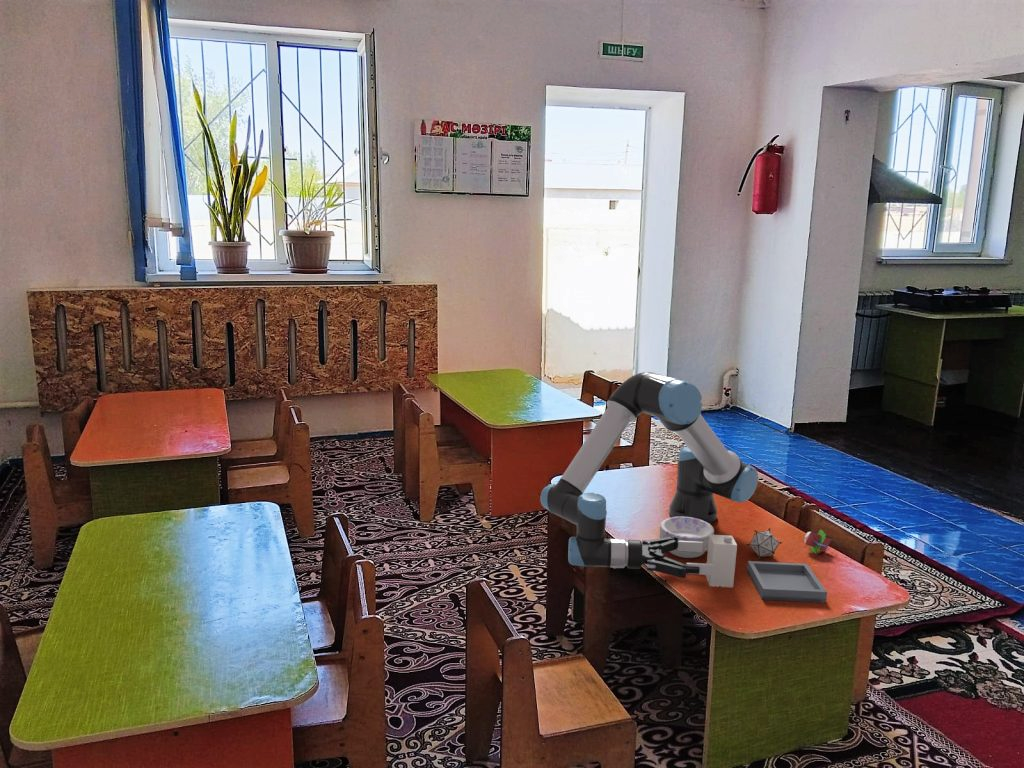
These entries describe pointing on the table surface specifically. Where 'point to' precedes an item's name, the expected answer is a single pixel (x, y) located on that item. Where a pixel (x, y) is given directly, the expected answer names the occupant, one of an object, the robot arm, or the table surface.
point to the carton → (721, 560)
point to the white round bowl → (687, 533)
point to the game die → (764, 543)
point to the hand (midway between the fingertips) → (707, 557)
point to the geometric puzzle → (817, 541)
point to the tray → (786, 582)
